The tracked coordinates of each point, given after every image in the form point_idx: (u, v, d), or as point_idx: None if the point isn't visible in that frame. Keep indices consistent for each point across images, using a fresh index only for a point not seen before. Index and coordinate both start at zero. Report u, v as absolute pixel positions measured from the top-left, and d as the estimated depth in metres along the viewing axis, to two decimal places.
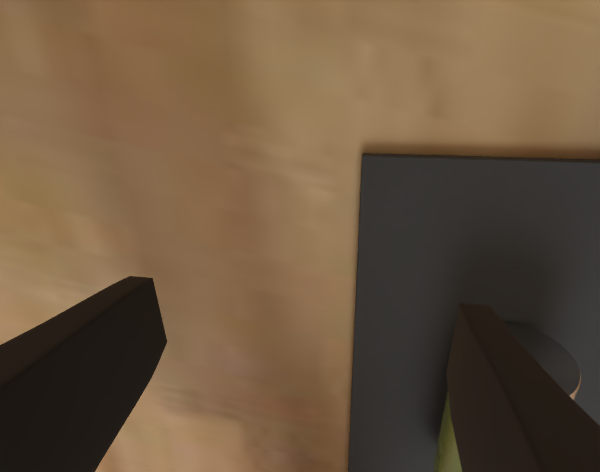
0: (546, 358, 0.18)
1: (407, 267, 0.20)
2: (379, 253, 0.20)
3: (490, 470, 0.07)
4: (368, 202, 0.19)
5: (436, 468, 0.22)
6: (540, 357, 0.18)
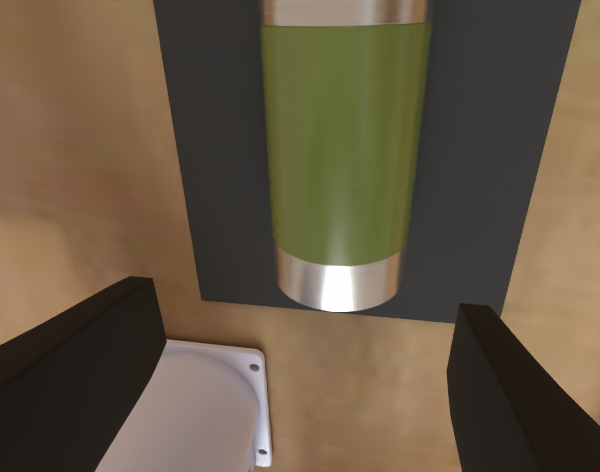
0: None
1: None
2: None
3: (490, 470, 0.07)
4: None
5: None
6: None
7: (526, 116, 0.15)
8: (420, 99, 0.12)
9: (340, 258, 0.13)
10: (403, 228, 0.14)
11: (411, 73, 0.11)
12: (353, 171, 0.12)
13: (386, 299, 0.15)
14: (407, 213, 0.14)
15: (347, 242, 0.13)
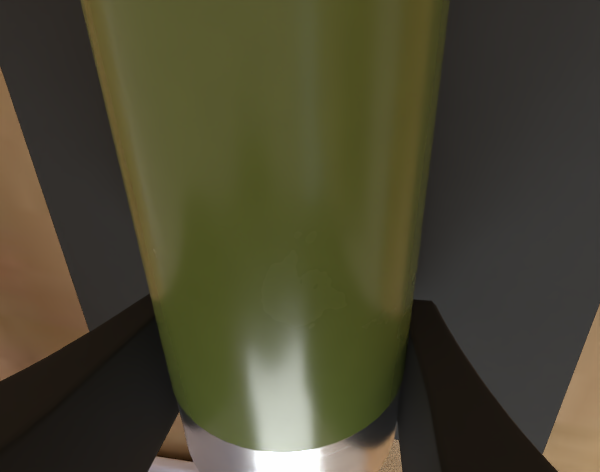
0: None
1: None
2: None
3: (416, 460, 0.07)
4: None
5: None
6: None
7: None
8: (425, 141, 0.06)
9: (273, 440, 0.07)
10: (395, 368, 0.08)
11: (406, 89, 0.05)
12: (283, 298, 0.06)
13: None
14: (402, 344, 0.07)
15: (283, 417, 0.07)
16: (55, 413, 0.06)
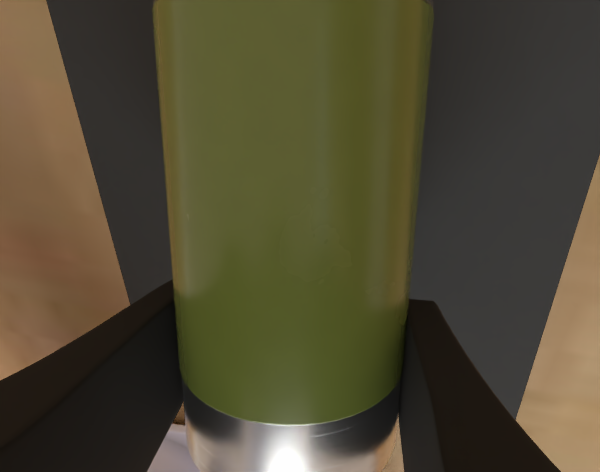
0: None
1: None
2: None
3: (418, 460, 0.07)
4: None
5: None
6: None
7: (559, 171, 0.11)
8: (417, 133, 0.07)
9: (279, 411, 0.07)
10: (395, 354, 0.08)
11: (399, 82, 0.06)
12: (297, 251, 0.06)
13: None
14: (400, 329, 0.08)
15: (291, 382, 0.07)
16: (53, 412, 0.06)
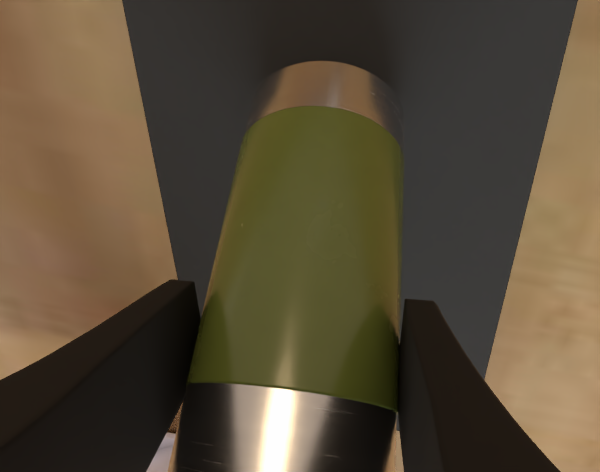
0: None
1: (200, 91, 0.15)
2: (161, 71, 0.15)
3: (418, 460, 0.07)
4: None
5: None
6: None
7: (485, 284, 0.17)
8: (398, 207, 0.11)
9: (288, 372, 0.08)
10: (390, 370, 0.09)
11: (386, 168, 0.11)
12: (319, 238, 0.09)
13: None
14: (393, 347, 0.09)
15: (302, 342, 0.08)
16: (53, 412, 0.06)
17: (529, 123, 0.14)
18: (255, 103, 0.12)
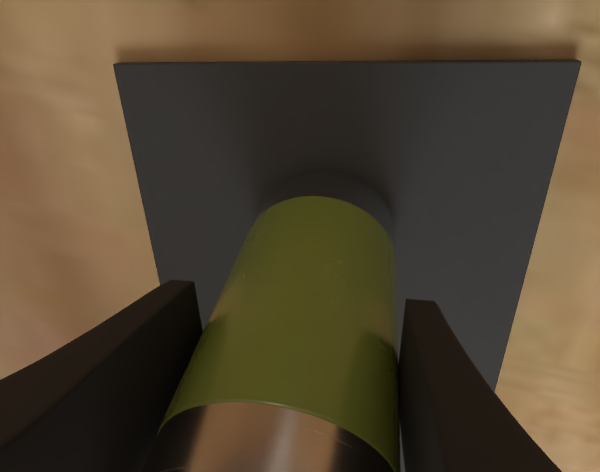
0: None
1: (201, 215, 0.16)
2: (165, 197, 0.16)
3: (419, 460, 0.07)
4: (135, 128, 0.15)
5: None
6: None
7: None
8: (392, 285, 0.11)
9: (280, 389, 0.07)
10: (390, 425, 0.08)
11: (381, 250, 0.12)
12: (319, 282, 0.10)
13: None
14: (393, 404, 0.09)
15: (297, 364, 0.08)
16: (52, 412, 0.06)
17: (513, 257, 0.15)
18: (264, 203, 0.14)
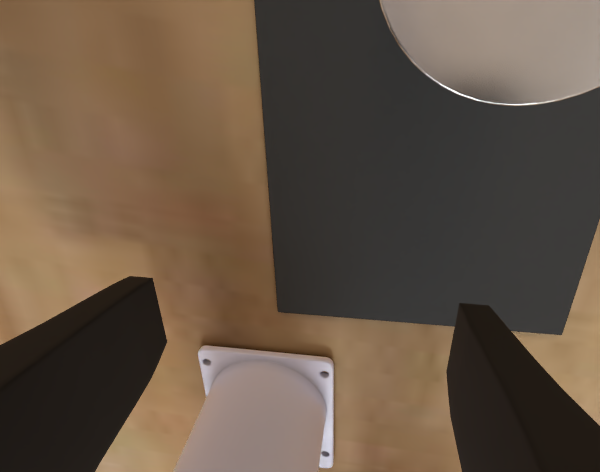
0: None
1: None
2: None
3: (490, 470, 0.07)
4: None
5: None
6: None
7: None
8: None
9: None
10: None
11: None
12: None
13: None
14: None
15: None
16: None
17: None
18: None
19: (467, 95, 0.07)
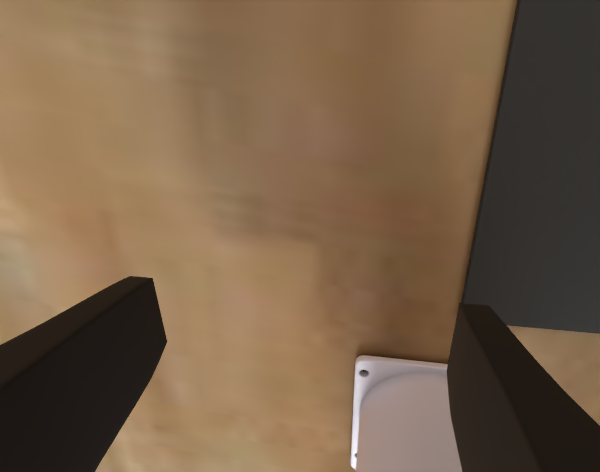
0: None
1: None
2: None
3: (490, 470, 0.07)
4: None
5: None
6: None
7: None
8: None
9: None
10: None
11: None
12: None
13: None
14: None
15: None
16: None
17: None
18: None
19: None
